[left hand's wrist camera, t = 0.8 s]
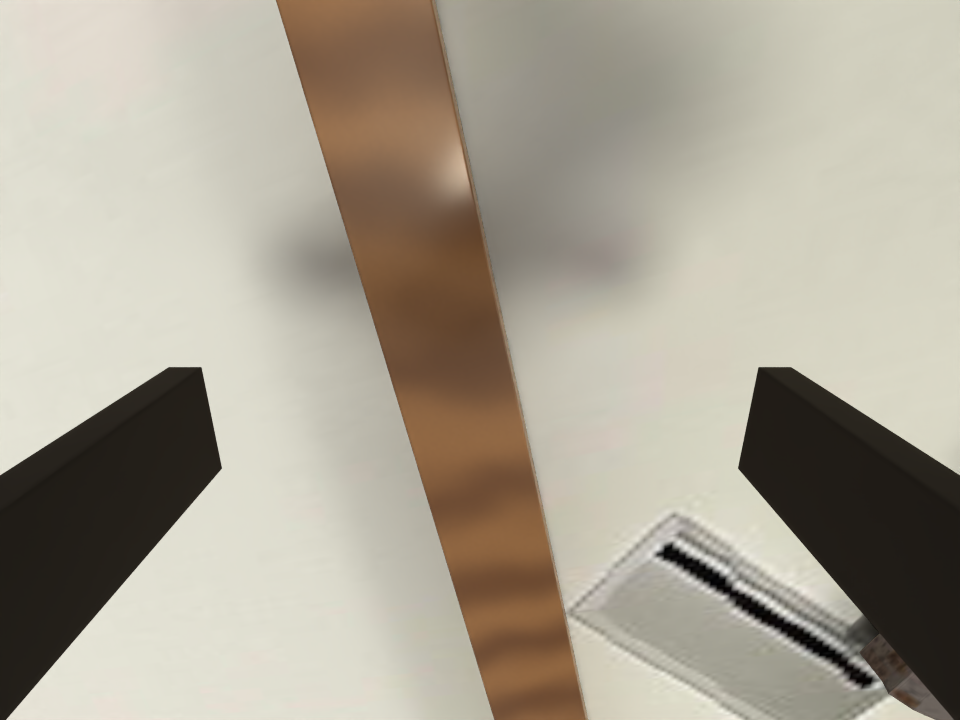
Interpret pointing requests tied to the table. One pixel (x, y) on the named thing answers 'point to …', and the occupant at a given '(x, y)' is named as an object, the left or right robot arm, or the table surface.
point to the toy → (901, 679)
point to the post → (440, 328)
